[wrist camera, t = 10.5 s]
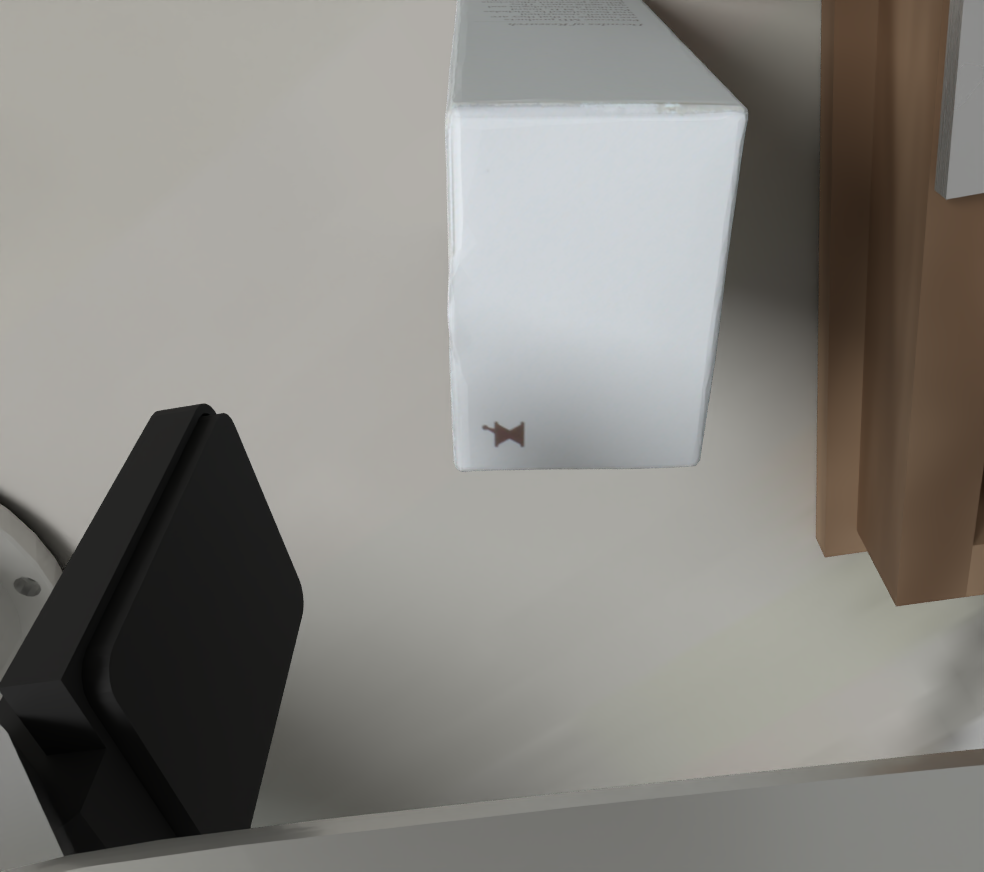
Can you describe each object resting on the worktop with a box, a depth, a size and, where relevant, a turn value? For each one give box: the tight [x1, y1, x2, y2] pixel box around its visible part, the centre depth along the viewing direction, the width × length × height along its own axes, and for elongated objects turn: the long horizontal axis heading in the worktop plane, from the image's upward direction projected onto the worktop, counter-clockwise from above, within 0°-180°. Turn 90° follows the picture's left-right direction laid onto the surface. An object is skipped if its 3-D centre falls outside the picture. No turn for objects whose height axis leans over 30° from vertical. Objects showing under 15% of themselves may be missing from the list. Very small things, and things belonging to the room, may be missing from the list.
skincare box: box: [445, 0, 748, 472], centre depth 19 cm, size 6×4×12 cm
